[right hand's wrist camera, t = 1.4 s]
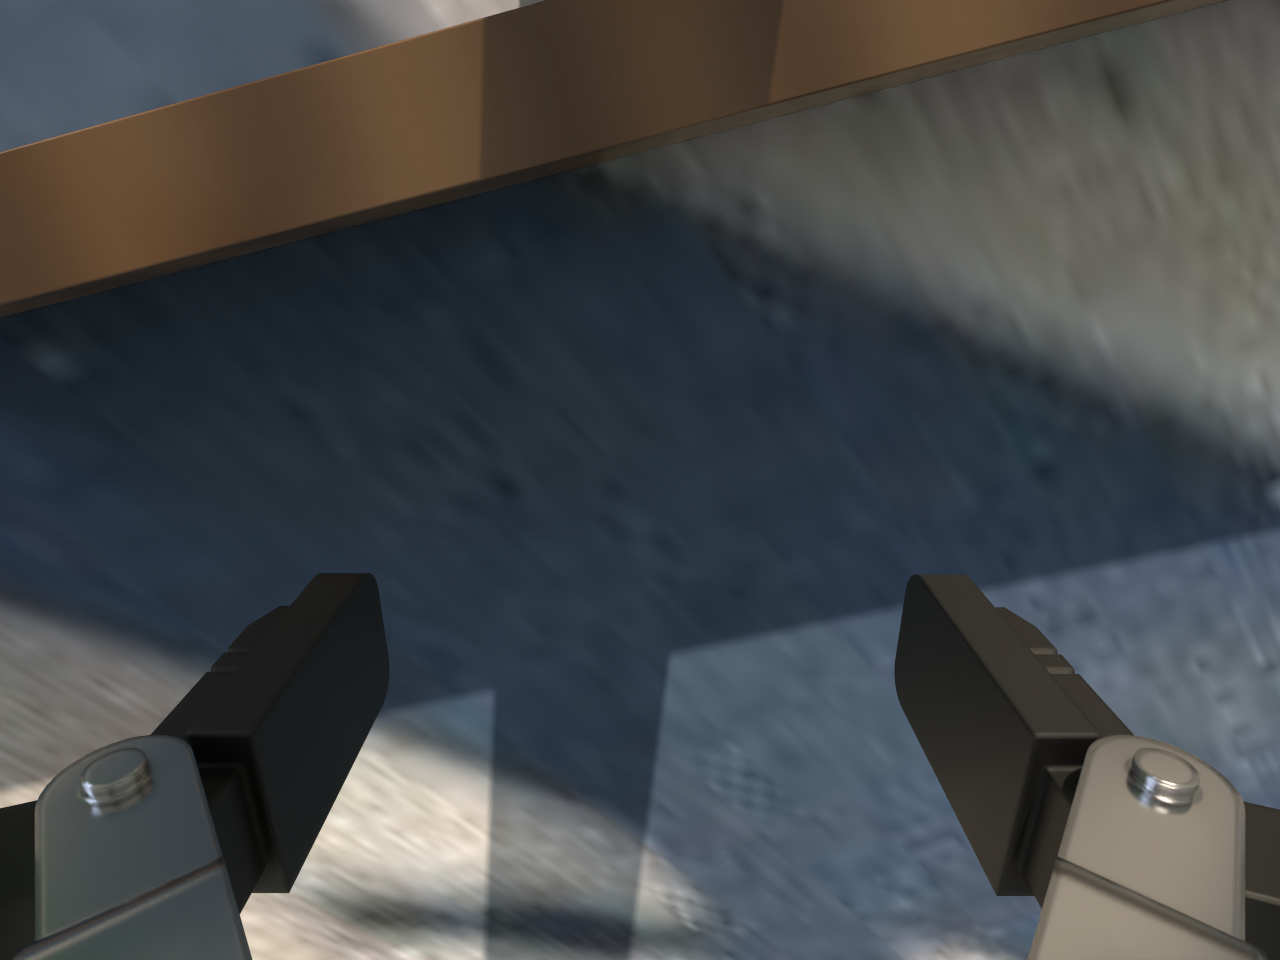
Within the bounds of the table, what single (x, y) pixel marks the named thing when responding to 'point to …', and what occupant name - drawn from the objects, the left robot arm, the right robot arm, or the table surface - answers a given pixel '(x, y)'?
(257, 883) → the right robot arm
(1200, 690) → the table surface
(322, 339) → the table surface
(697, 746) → the table surface
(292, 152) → the post
